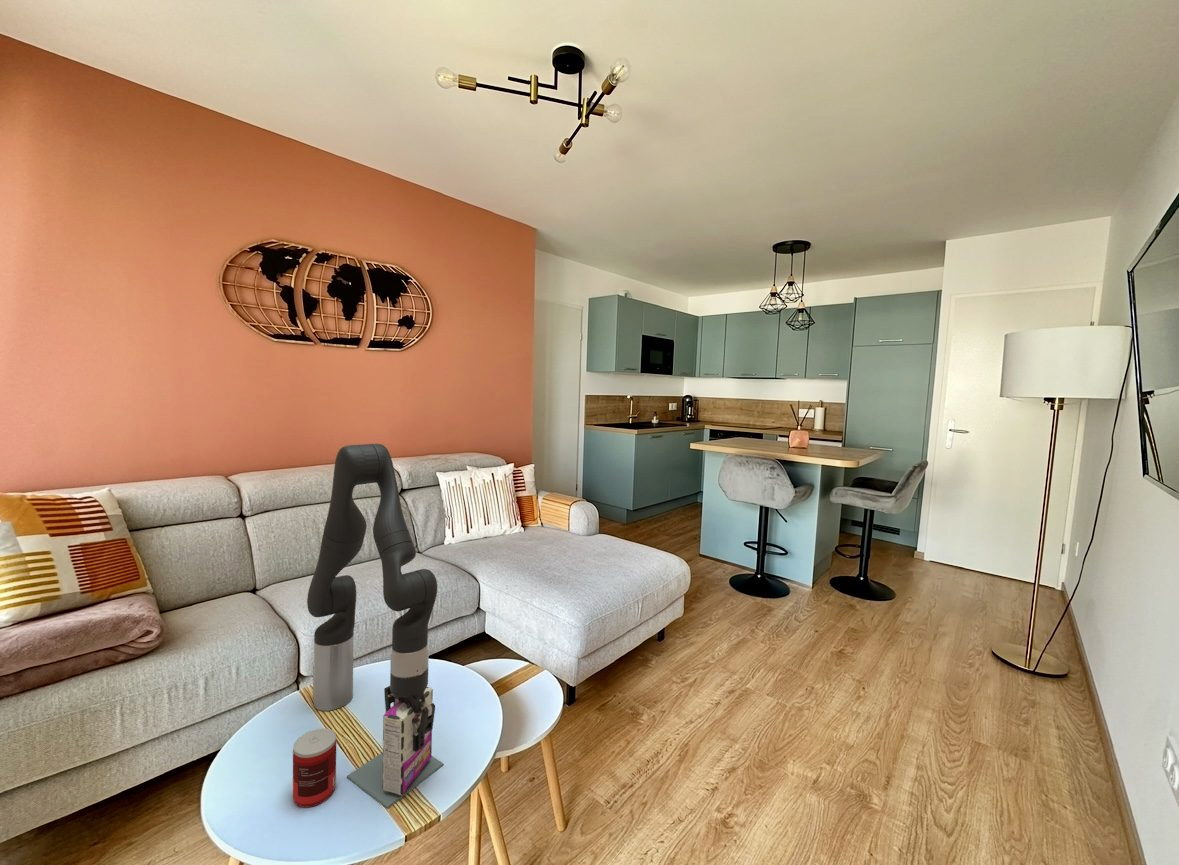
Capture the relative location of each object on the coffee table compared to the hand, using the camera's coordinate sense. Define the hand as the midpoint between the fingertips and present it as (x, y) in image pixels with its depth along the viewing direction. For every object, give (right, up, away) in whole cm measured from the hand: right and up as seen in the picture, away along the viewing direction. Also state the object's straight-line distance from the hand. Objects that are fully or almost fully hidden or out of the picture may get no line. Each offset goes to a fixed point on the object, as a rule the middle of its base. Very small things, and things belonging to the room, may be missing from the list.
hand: (408, 742), depth 101 cm
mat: (-4, -8, +2) cm, 9 cm away
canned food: (-18, -8, -4) cm, 20 cm away
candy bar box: (0, -7, 0) cm, 7 cm away
